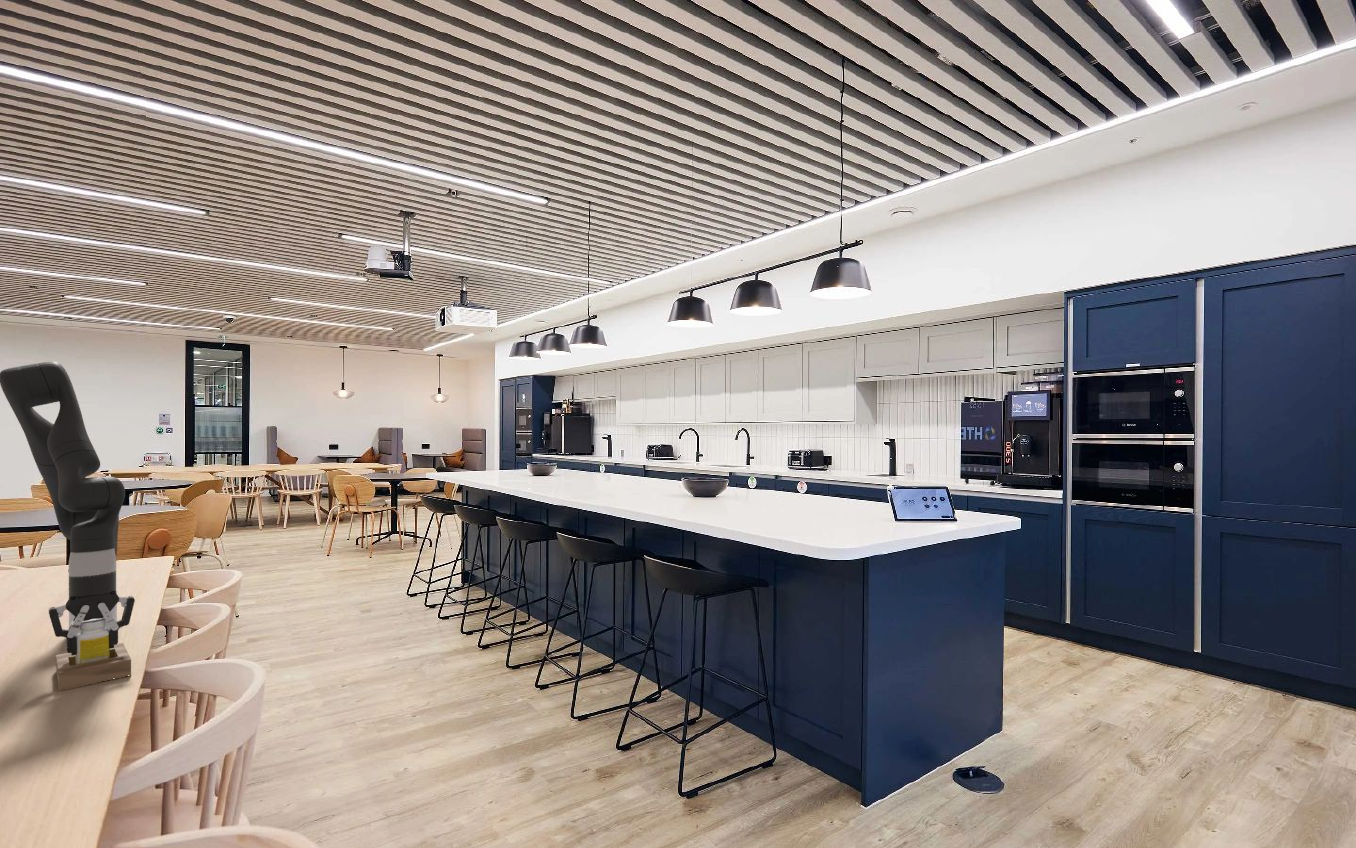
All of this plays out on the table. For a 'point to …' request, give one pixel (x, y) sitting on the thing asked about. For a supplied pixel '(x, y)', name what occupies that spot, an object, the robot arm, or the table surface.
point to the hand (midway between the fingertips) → (93, 650)
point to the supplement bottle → (92, 641)
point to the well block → (92, 668)
